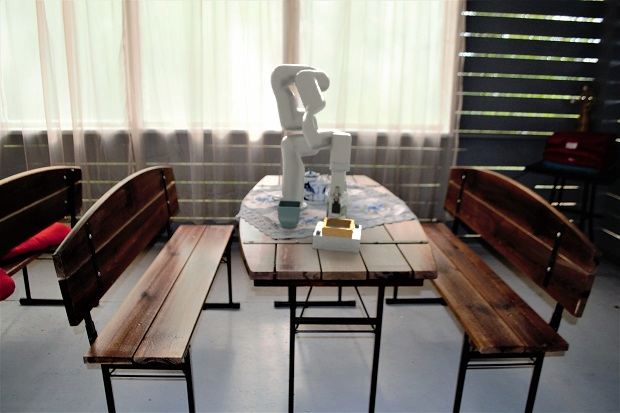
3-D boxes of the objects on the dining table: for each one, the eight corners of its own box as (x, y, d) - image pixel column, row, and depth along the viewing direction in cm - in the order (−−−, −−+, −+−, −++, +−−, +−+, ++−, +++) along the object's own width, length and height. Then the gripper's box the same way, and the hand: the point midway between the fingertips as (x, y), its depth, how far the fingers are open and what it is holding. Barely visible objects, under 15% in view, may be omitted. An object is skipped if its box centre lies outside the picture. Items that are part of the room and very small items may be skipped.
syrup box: (333, 223, 180) (335, 188, 175) (345, 227, 176) (348, 191, 172) (325, 227, 175) (327, 191, 171) (338, 231, 172) (340, 194, 167)
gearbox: (312, 248, 155) (313, 228, 152) (317, 233, 168) (318, 214, 166) (358, 253, 153) (360, 232, 151) (360, 238, 166) (362, 218, 164)
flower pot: (278, 221, 179) (279, 199, 177) (300, 222, 179) (301, 200, 176) (276, 229, 171) (276, 206, 168) (299, 230, 171) (300, 207, 168)
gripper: (331, 160, 177) (329, 202, 182) (327, 170, 161) (324, 215, 166) (351, 161, 176) (348, 203, 181) (348, 171, 160) (345, 217, 165)
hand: (336, 209), depth 173 cm, fingers open, 9 cm apart
